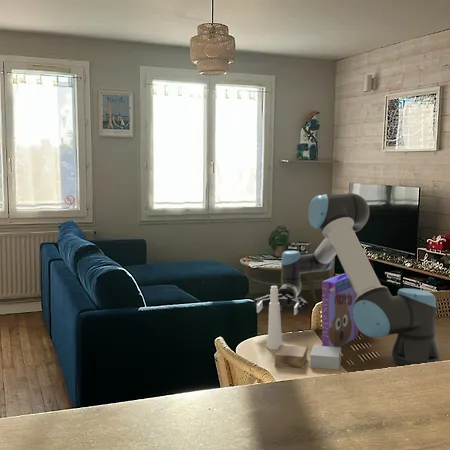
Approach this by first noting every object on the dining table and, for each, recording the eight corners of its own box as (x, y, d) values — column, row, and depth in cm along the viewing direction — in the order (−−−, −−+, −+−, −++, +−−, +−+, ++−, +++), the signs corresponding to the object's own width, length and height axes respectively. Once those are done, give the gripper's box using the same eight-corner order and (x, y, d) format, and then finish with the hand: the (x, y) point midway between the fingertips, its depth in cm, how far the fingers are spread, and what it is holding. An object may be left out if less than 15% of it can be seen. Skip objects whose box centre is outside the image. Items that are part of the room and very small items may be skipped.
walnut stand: (306, 358, 188) (306, 347, 187) (303, 368, 179) (302, 356, 179) (280, 356, 190) (280, 345, 190) (275, 366, 182) (274, 354, 181)
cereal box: (334, 350, 195) (334, 282, 191) (322, 347, 198) (322, 280, 194) (358, 337, 208) (358, 273, 204) (346, 334, 211) (346, 271, 207)
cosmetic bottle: (286, 346, 200) (285, 285, 197) (278, 351, 195) (277, 289, 192) (271, 343, 203) (270, 283, 200) (263, 348, 198) (262, 287, 195)
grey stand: (341, 359, 186) (341, 347, 186) (338, 369, 178) (338, 357, 177) (313, 356, 189) (313, 345, 188) (310, 367, 180) (310, 355, 180)
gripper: (318, 306, 220) (311, 322, 200) (256, 302, 227) (242, 318, 207) (318, 287, 219) (310, 301, 199) (255, 284, 226) (242, 298, 206)
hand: (276, 310), depth 203 cm, fingers open, 13 cm apart
